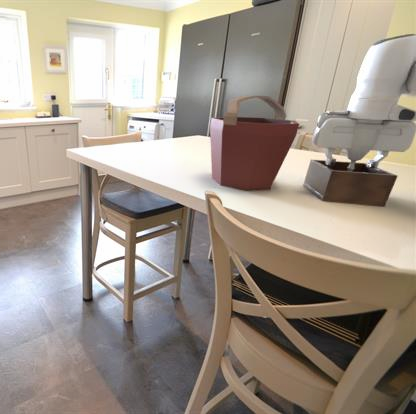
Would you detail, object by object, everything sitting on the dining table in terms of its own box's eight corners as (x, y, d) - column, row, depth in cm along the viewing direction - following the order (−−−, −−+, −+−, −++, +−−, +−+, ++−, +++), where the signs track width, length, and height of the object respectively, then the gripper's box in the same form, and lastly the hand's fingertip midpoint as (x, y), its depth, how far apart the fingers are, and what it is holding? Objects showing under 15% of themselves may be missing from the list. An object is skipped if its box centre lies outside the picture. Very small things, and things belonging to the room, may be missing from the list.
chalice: (355, 198, 73) (382, 125, 66) (323, 191, 77) (346, 123, 71) (360, 192, 77) (387, 124, 70) (330, 186, 82) (352, 121, 75)
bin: (355, 190, 82) (365, 163, 79) (384, 206, 70) (398, 175, 67) (303, 185, 86) (310, 159, 83) (322, 200, 73) (331, 170, 70)
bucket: (225, 195, 76) (244, 95, 67) (186, 173, 96) (196, 94, 87) (301, 190, 81) (329, 97, 71) (249, 170, 101) (266, 95, 91)
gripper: (326, 110, 69) (310, 165, 75) (429, 113, 64) (404, 172, 70) (316, 109, 75) (301, 160, 80) (410, 111, 70) (388, 166, 75)
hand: (350, 166), depth 75 cm, fingers open, 8 cm apart
